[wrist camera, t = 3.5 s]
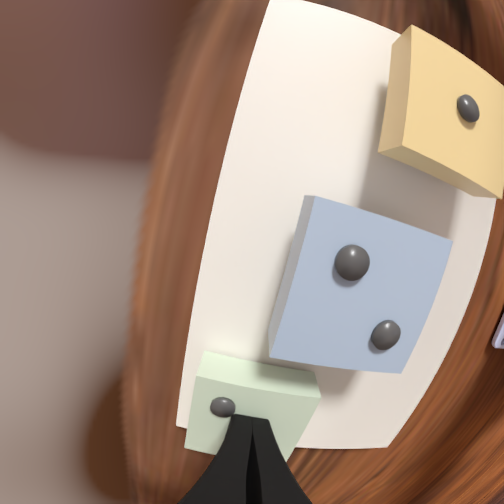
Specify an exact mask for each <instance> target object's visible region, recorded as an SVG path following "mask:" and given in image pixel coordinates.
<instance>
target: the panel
mask: <svg viewBox="0 0 504 504" xmlns="http://www.w3.org/2000/svg"><path fill="white" fill-rule="evenodd" d="M400 36H401V35H400V34H398V33H396V32H394V31H392V30H390V29H387V28H385V27H383V26H380V25H378V24H375V23H373V22H370V21H368V20H365V19H363V18H360V17H357V16H354V15H351V14H348V13H345V12H342V11H339V10H336V9H333V8H329V7H326V6H322V5H319V4H315V3H311V2H307V1H303V0H270V2H269V5H268V8H267V11H266V14H265V17H264V20H263V23H262V26H261V29H260V32H259V35H258V38H257V41H256V45H255V48H254V51H253V54H252V58H251V61H250V64H249V68H248V71H247V75H246V78H245V81H244V85H243V88H242V92H241V96H240V99H239V103H238V106H237V110H236V114H235V118H234V121H233V125H232V129H231V133H230V137H229V141H228V145H227V149H226V153H225V157H224V161H223V165H222V169H221V173H220V178H219V182H218V186H217V191H216V195H215V199H214V204H213V208H212V213H211V218H210V222H209V227H208V232H207V237H206V241H205V246H204V251H203V256H202V261H201V267H200V272H199V277H198V282H197V288H196V293H195V299H194V305H193V310H192V316H191V322H190V328H189V335H188V341H187V347H186V354H185V360H184V367H183V374H182V382H181V389H180V397H179V405H178V413H177V421H176V426H179V427H183V428H187V427H188V421H189V415H190V408H191V402H192V396H193V390H194V385H195V379H196V374H197V371H198V368H199V365H200V362H201V360H202V357H203V354H204V351H209V352H213V353H217V354H221V355H225V356H230V357H234V358H239V359H243V360H248V361H253V362H258V363H263V364H268V365H274V366H279V367H285V368H291V369H298V370H304V371H311V372H314V373H315V376H316V380H317V384H318V387H319V391H320V394H321V400H320V402H319V404H318V406H317V408H316V410H315V412H314V414H313V416H312V418H311V419H310V421H309V423H308V425H307V427H306V429H305V430H304V432H303V434H302V436H301V438H300V439H299V441H298V443H297V445H296V446H295V447H302V448H322V449H362V448H381V447H388V445H389V444H390V443H391V442H392V440H393V439H394V438H395V436H396V435H397V434H398V432H399V431H400V430H401V428H402V427H403V425H404V424H405V422H406V421H407V420H408V418H409V417H410V415H411V414H412V412H413V411H414V409H415V408H416V406H417V405H418V403H419V401H420V400H421V398H422V397H423V395H424V393H425V392H426V390H427V388H428V387H429V385H430V383H431V381H432V380H433V378H434V376H435V374H436V373H437V371H438V369H439V367H440V365H441V363H442V361H443V359H444V357H445V355H446V353H447V351H448V349H449V347H450V345H451V343H452V341H453V339H454V337H455V334H456V332H457V330H458V328H459V325H460V323H461V321H462V318H463V316H464V313H465V311H466V308H467V306H468V303H469V300H470V298H471V295H472V292H473V289H474V286H475V283H476V280H477V277H478V274H479V271H480V268H481V264H482V261H483V257H484V254H485V250H486V246H487V242H488V238H489V234H490V229H491V225H492V220H493V215H494V209H495V203H496V198H486V197H474V196H471V195H469V194H468V193H466V192H464V191H462V190H460V189H458V188H456V187H454V186H452V185H450V184H448V183H446V182H444V181H442V180H440V179H438V178H436V177H434V176H432V175H430V174H427V173H425V172H423V171H421V170H419V169H416V168H414V167H412V166H409V165H407V164H405V163H402V162H400V161H397V160H395V159H392V158H390V157H387V156H385V155H382V154H380V153H378V148H379V142H380V137H381V131H382V125H383V118H384V112H385V105H386V97H387V89H388V81H389V71H390V61H391V48H392V44H393V43H394V42H395V41H396V40H397V39H398V38H399V37H400ZM304 195H310V196H318V197H322V198H325V199H329V200H332V201H336V202H339V203H342V204H346V205H349V206H352V207H356V208H359V209H362V210H365V211H369V212H372V213H375V214H378V215H381V216H384V217H387V218H390V219H393V220H396V221H399V222H402V223H405V224H408V225H411V226H413V227H416V228H419V229H422V230H424V231H427V232H430V233H433V234H435V235H438V236H441V237H443V238H446V239H448V240H451V241H453V244H452V247H451V251H450V254H449V258H448V261H447V264H446V268H445V271H444V274H443V277H442V280H441V283H440V286H439V289H438V292H437V294H436V297H435V300H434V302H433V305H432V308H431V310H430V313H429V315H428V318H427V320H426V322H425V325H424V327H423V329H422V332H421V334H420V336H419V338H418V341H417V343H416V345H415V347H414V349H413V351H412V353H411V355H410V357H409V359H408V361H407V363H406V365H405V367H404V369H403V371H402V373H401V374H398V373H383V372H371V371H361V370H351V369H342V368H334V367H327V366H319V365H312V364H306V363H300V362H293V361H288V360H282V359H276V358H271V357H269V340H268V328H269V325H270V321H271V318H272V314H273V311H274V307H275V304H276V301H277V297H278V293H279V290H280V286H281V283H282V279H283V275H284V272H285V268H286V265H287V261H288V257H289V253H290V250H291V246H292V242H293V238H294V234H295V231H296V227H297V223H298V219H299V215H300V211H301V207H302V203H303V199H304Z"/></svg>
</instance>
